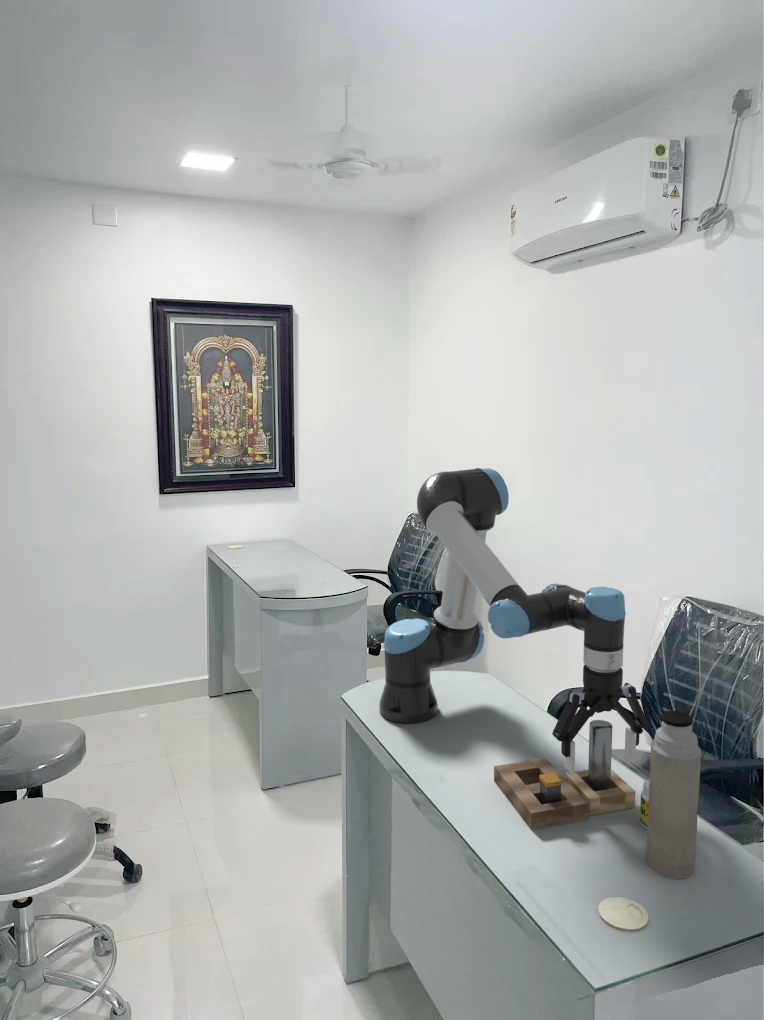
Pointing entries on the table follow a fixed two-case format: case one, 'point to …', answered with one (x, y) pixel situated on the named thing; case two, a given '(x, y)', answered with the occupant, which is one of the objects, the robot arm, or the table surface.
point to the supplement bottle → (644, 804)
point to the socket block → (538, 794)
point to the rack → (603, 793)
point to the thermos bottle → (673, 797)
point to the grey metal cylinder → (600, 755)
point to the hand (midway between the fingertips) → (600, 765)
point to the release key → (550, 788)
